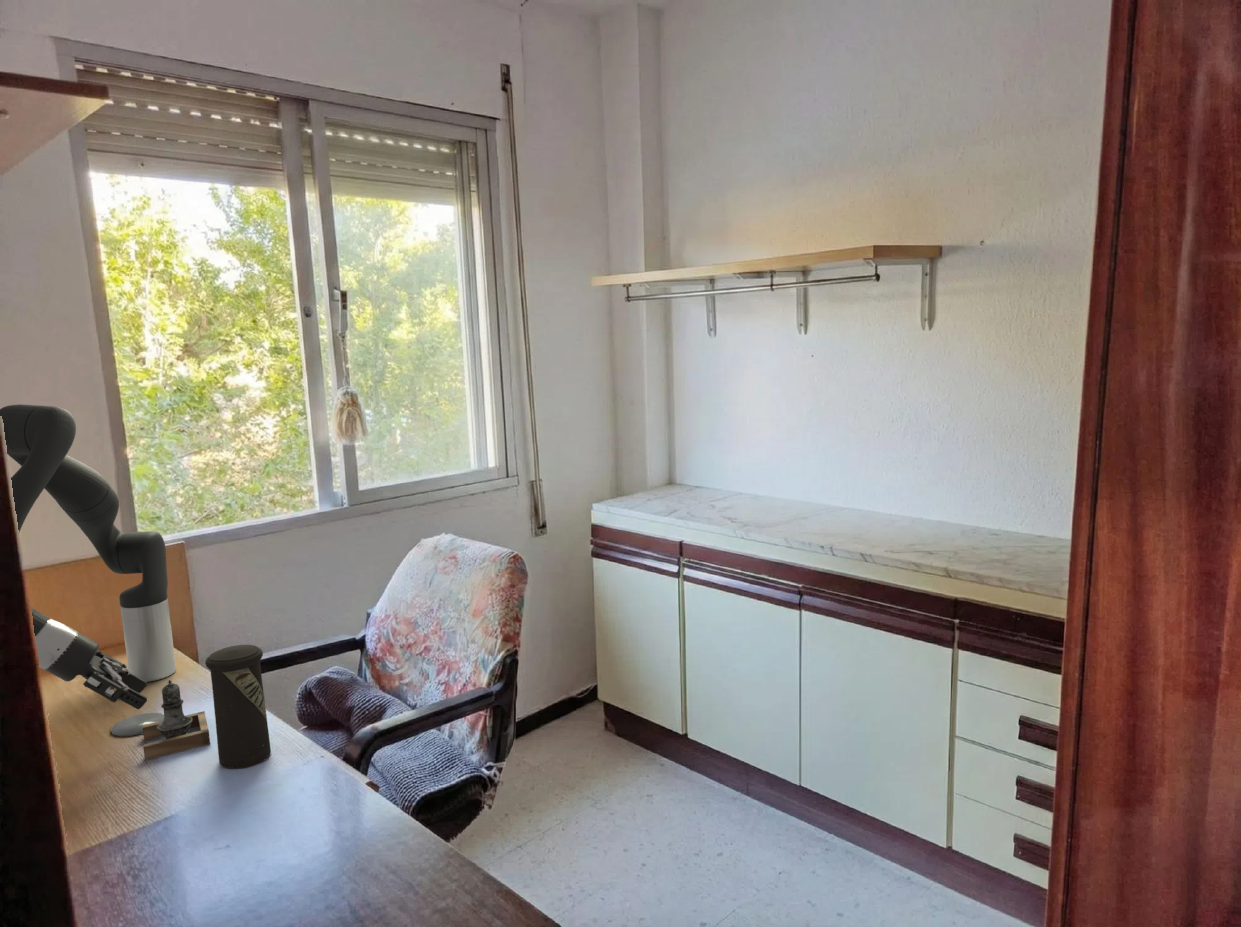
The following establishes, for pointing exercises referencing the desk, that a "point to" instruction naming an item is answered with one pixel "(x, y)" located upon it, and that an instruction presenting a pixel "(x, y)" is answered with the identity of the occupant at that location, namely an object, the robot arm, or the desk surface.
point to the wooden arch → (176, 738)
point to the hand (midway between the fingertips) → (143, 696)
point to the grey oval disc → (135, 724)
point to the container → (239, 706)
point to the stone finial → (173, 713)
